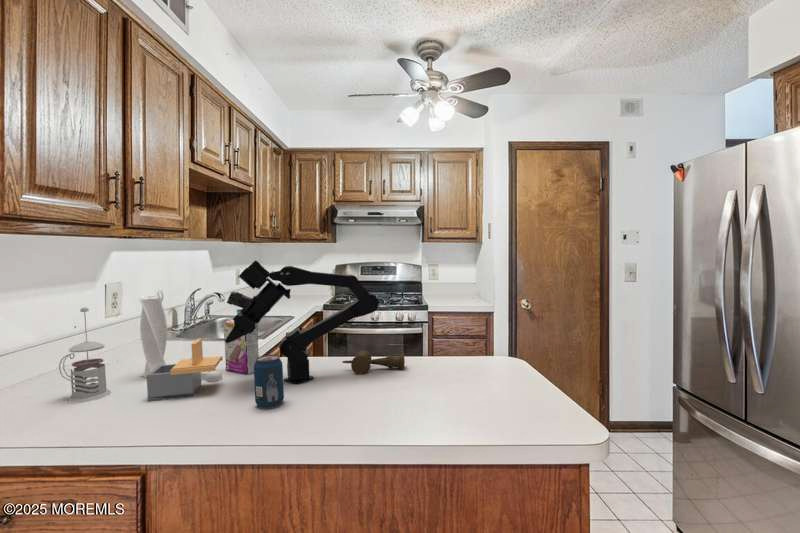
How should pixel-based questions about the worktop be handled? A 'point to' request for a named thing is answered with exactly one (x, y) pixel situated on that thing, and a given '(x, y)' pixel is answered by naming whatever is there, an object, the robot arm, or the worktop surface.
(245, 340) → the candy bar box
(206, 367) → the lid
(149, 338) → the skyscraper
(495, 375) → the worktop surface
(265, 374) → the soda can
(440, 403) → the worktop surface
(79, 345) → the french press
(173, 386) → the housing
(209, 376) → the ball with square handle
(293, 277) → the robot arm
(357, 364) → the kendama
